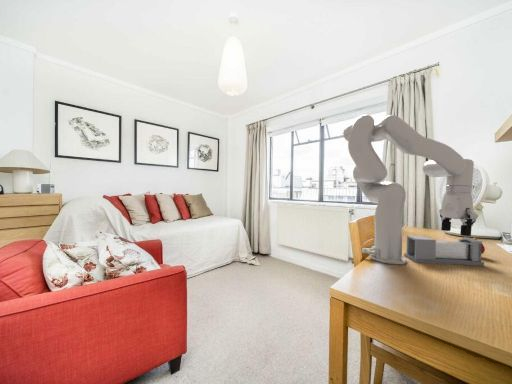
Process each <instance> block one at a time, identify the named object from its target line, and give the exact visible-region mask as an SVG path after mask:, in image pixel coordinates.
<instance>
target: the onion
mask: <svg viewBox="0 0 512 384" xmlns="http://www.w3.org/2000/svg"><path fill="white" fill-rule="evenodd" d="M472 239H475V240H478V239H477V238H476V237H473V238H472ZM485 250H486V248H485V245H484V244H483V243H482V244H481V255H482V254H484V253H485Z"/></svg>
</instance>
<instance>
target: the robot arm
mask: <svg viewBox="0 0 512 384" xmlns="http://www.w3.org/2000/svg"><path fill="white" fill-rule="evenodd" d="M342 134H343V138H344V139H345V141H347V147H348V149H347V150H348V153H349V155H350V158H351V160H352V161H353V162H354V164H355V166H354V168H353V171H352V176H353V179H354V180H355V184H356V185H357V186H358V188H359V189H360V191H361V192H362V193H363V195H364V196H365V197H366V199H367V200H368V201H370V203H373V204H376V207H375V213H374V244H373V245H372V246H371V247H369V248H367V247H362V248H361V253H363V254H367V255H369V257H370V258H371V259H372V260H373V261H376V262H379V263H383V264H389V265H405V264H406V263H407V257H405V256H403V251H402V250H403V213H404V207H405V202H406V198H407V192H406V189H405V188H404V186H402V184H400V183H399V182H396V181H395V182H394V181H384V180H385V179H386V178H387V176H388V169H387V167H386V165H385V164H384V162H383V161H382V159H381V158H380V157H379V154H377V152H376V151H375V149H374V147H373V144H372V143H375V142H381V141H384V140H387V141H388V142H389V143H391V144H392V145H393V146H395V147H396V148H397V149H398V150H400V152H401V153H403V154H406V155H411V156H417V157H421V158H426V159H429V160H428V161H426V162H425V163H424V164H423V165H422V172H423V174H424V175H426V176H428V177H430V178H443V177H445V178H446V183H445V185H446V186H445V193H444V195H443V198H442V202H441V206H440V207H441V209H439V210H438V211H439V217H440V221H441V229H440V230H441V231H443V232H450V231H451V227H452V222H451V221H452V219H453V220H460V222H461V225H460V231H459V232H460V234H459V235H460V236H462V237H471V236H472V228H473V226H474V224H475V223H476V220H477V218H478V217H479V214H477V213H476V212H474V201H473V194H472V192H473V179H474V167H475V165H474V164H475V162H474V161H473V160H472V159H470V158H469V159H468V158H464V157H463V156H462V155H461V154H460V153H458V152H457V151H456V150H455V149H454V148H452V147H451V146H449V145H447V144H445V143H443V142H440V141H437V140H434V139H432V138H430V137H426V136H423V135H422V134H420V133H419V132H418V131H417V130H416V129H414V128H413V127H412V126H411V125H410V124H408V123H407V122H406V121H405V120H403V119H402V118H401V117H400V116H397V115H395V114H390V115H386V116H385V117H382V118H381V119H379V120H378V121H375V119H374V118H373V117H372V116H371V115H369V114H362V115H359V116H358V117H356V118H355V119H353V120H352V121H351V122H350V123H349V124H348V125H346V127H345V128H344V129H343V133H342Z"/></svg>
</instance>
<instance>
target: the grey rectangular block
mask: <svg viewBox="0 0 512 384" xmlns="http://www.w3.org/2000/svg"><path fill="white" fill-rule="evenodd" d="M435 258H452V259H470V243H469V242H459V241H451V240H436V255H435Z"/></svg>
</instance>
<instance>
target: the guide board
mask: <svg viewBox="0 0 512 384" xmlns="http://www.w3.org/2000/svg"><path fill="white" fill-rule="evenodd" d="M436 241H437V240H436V239H435V238H431V237H428V236H426V235H425V236H424V235H406V253H405V252H404V253H403V257H404V258H406V259H409V260H411V261H413V263H420V264H421V263H422V264H441V265H464V266H465V265H466V266H467V265H468V266H485V262H484V261H482V260H481V262H476V261H470V259H452V258H435V255H436Z"/></svg>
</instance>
